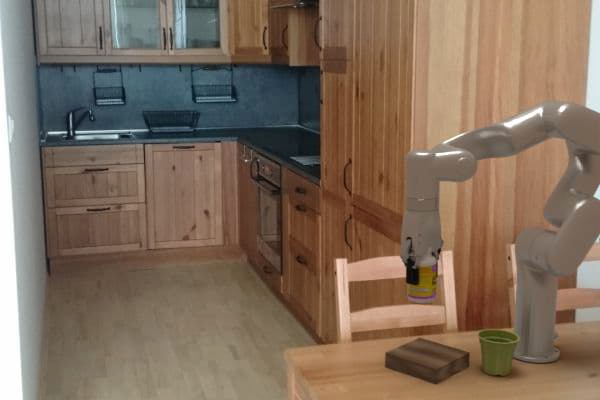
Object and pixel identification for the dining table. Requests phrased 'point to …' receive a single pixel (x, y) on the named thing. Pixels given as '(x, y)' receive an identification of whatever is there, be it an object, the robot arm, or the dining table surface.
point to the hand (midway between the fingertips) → (421, 279)
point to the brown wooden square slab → (427, 360)
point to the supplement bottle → (424, 280)
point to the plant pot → (497, 350)
